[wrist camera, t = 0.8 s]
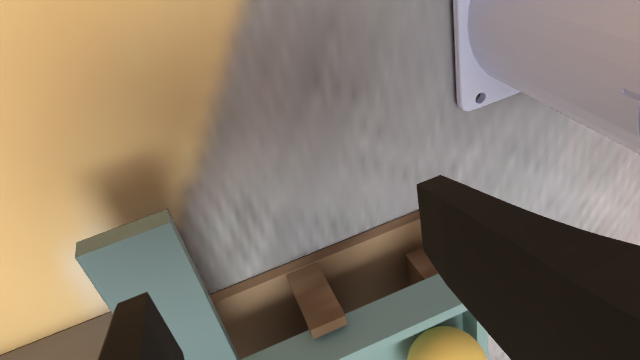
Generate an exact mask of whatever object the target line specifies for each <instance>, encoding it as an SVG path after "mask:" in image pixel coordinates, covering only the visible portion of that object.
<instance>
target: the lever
mask: <svg viewBox="0 0 640 360" xmlns="http://www.w3.org/2000/svg"><path fill="white" fill-rule="evenodd" d="M75 258H76V260H77V261H78V263H79V264H80V266H81V267H82V269H83V270H84V272H85V273H86V275H87V276H88V278H89V279H90V281H91V282H92V284H93V285H94V287H95V288H96V290H97V291H98V293H99V294H100V296H101V297H102V299H103V300H104V302H105V303H106V304H107V306H108V307H109V309H110V310H111V312H112V313H113V312H114V309H115V308H116V306H117V304H118V303H120V302H122V301H125V300H127V299H130V298H132V297H135V296H137V295H140V294H143V293H145V292H148V294H149V295H150V297H151V299H152V300H153V302H154V304H155V306H156V307H157V309H158V311H159V312H160V314H161V316H162V317H163V319H164V321H165V323H166V324H167V326H168V328H169V329H170V331H171V333H172V335H173V336H174V338H175V340H176V341H177V343H178V345H179V346H180V348H181V350H182V352H183V355H184V359H185V360H240V358H239V356H238V354H237V352H236V350H235V348H234V346H233V344H232V342H231V340H230V338H229V336H228V333H227V331H226V329H225V327H224V325H223V323H222V321H221V319H220V317H219V315H218V313H217V311H216V309H215V306H214V304H213V302H212V300H211V298H210V296H209V294H208V292H207V290H206V288H205V286H204V284H203V282H202V280H201V277H200V275H199V273H198V271H197V269H196V267H195V265H194V263H193V261H192V259H191V257H190V255H189V253H188V250H187V248H186V246H185V244H184V242H183V240H182V238H181V236H180V234H179V232H178V230H177V228H176V226H175V224H174V221H173V219H172V217H171V215H170V213H169V211H168V209H166V210H163V211H161V212H158V213H155V214H152V215H150V216H147V217H144V218H142V219H139V220H136V221H133V222H131V223H128V224H125V225H123V226H120V227H117V228H114V229H112V230H109V231H106V232H103V233H101V234H98V235H95V236H93V237H90V238H87V239H84V240H82V241H79V242H77V243H76V254H75ZM345 316H346V320H347V323H348V324H347V325H345V326H343V327H341V328H338V329H336V330H334V331H331V332H329V333H327V334H325V335H322V336H320V337H318V338H316V339H313V337H312V335H311V333H310V330H308V331H305V332H303V333H301V334H298V335H296V336H294V337H292V338H289V339H287V340H285V341H282V342H280V343H278V344H275V345H273V346H271V347H269V348H266V349H264V350H262V351H259V352H257V353H255V354H252V355H250V356H248V357H246V358H243V359H241V360H407V357H408V353H409V350H410V347H411V345H412V344H413V342H414V341H415V339H416V338H417V337H418V336H419V335H420V334H422V333H423V332H425V331H426V330H428V329H431V328H433V327H438V326H451V327H455V328H458V329H461V330H463V331H465V332H466V333H468V334H470V335H471V336H472V337H473V338H474V339H475V340H476V341H477V342H478V343H479V345H480V346H481V347H482V349H483V351H484V353H485V355H486V358H487V360H488V332H487V331H486V330H485V329H484V328H483V327H482V326H481V324H480V323H479V322H478V321H477V320H476V319H475V318H474V316H473V315H472V314H471V313H470V312H469V311H468V310H467V308H466V307H465V306H464V305H463V304H462V303H461V301H460V300H459V299H458V298H457V297H456V296H455V294H454V293H453V292H452V291H451V290H450V288H449V287H448V286H447V285H446V283H445V282H444V281H443V279H442V278H441V276H440V275H439V274H436V275H434V276H432V277H430V278H427V279H425V280H423V281H420V282H418V283H416V284H413V285H411V286H409V287H407V288H404V289H402V290H400V291H397V292H395V293H393V294H390V295H388V296H386V297H384V298H381V299H379V300H377V301H374V302H372V303H370V304H367V305H365V306H363V307H361V308H358V309H356V310H354V311H351V312H349V313H347V314H345Z"/></svg>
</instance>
